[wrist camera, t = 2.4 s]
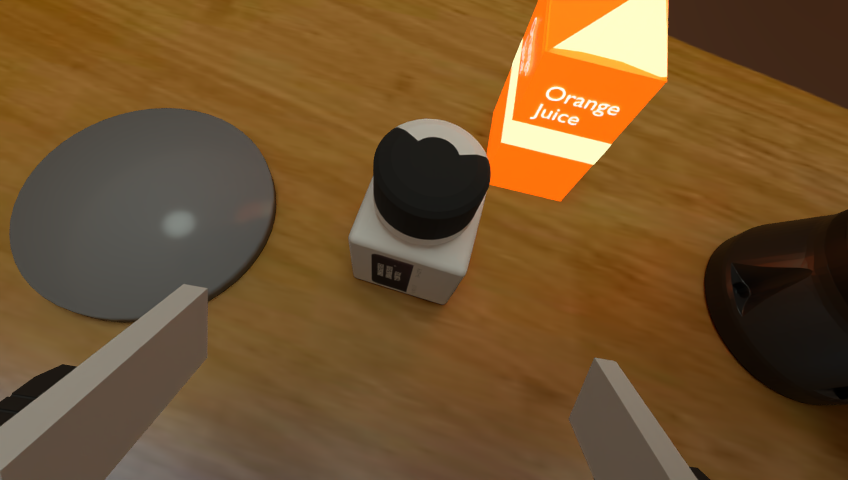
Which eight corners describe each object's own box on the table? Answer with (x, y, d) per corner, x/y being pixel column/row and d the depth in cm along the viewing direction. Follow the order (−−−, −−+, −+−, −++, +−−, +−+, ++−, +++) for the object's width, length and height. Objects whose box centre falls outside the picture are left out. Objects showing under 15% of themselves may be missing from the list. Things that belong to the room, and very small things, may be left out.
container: (445, 307, 31) (489, 242, 20) (351, 278, 31) (339, 195, 20) (467, 223, 35) (517, 124, 23) (382, 197, 35) (388, 85, 23)
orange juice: (480, 183, 36) (588, -48, 18) (492, 110, 40) (592, -141, 22) (562, 202, 37) (749, -6, 18) (566, 128, 40) (726, -105, 22)
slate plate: (217, 91, 37) (211, 79, 36) (317, 239, 32) (314, 231, 31) (-7, 179, 31) (-24, 168, 30) (76, 375, 26) (60, 373, 25)
